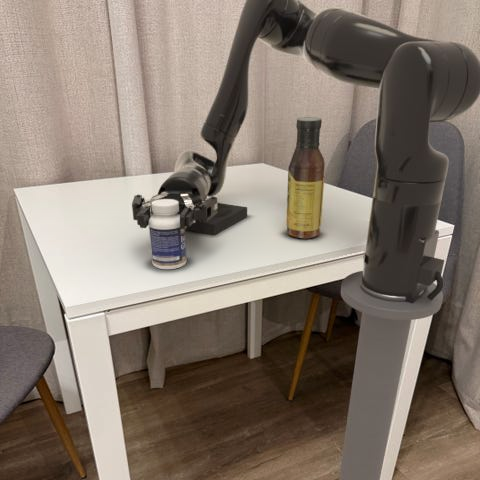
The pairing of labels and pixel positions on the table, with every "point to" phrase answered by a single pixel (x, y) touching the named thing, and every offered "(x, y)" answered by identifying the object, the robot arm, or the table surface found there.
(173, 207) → the pill bottle
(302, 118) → the sauce bottle
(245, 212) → the dock pad
